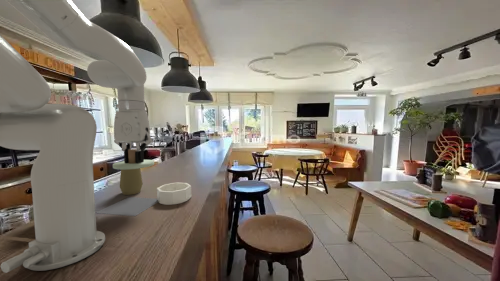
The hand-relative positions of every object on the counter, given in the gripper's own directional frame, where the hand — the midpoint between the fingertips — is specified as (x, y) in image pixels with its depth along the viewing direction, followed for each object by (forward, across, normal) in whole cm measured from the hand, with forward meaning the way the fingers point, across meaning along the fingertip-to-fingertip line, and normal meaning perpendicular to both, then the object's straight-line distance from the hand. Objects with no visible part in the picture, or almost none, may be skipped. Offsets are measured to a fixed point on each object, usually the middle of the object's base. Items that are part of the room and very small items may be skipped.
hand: (134, 162), depth 66 cm
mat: (+15, -1, -1) cm, 15 cm away
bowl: (+15, +10, +7) cm, 20 cm away
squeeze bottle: (+16, -11, +11) cm, 22 cm away
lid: (+1, 0, 0) cm, 1 cm away
